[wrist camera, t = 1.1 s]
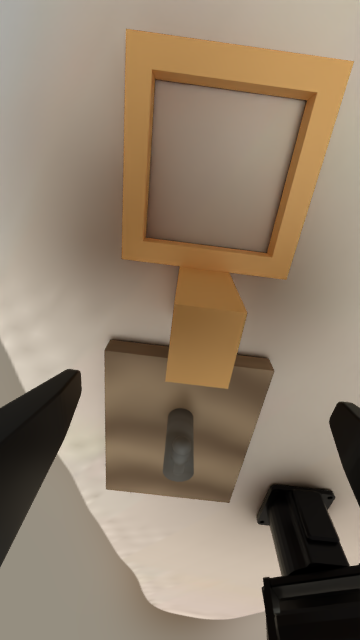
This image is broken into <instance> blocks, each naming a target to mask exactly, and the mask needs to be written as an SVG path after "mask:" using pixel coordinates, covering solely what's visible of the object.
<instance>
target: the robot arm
mask: <svg viewBox="0 0 360 640" xmlns="http://www.w3.org/2000/svg"><path fill="white" fill-rule="evenodd" d="M81 391H82V387H81V373H80V371H79V370H73V369H67V370H65V371H63V372H61V373H60V374H58V375H56V376H55V377H53V378H51V379H49V380H48V381H46V382H44V383H42V384H41V385H39V386H37V387H36V388H34V389H32V390H30V391H29V392H27V393H25V394H24V395H22V396H20V397H18V398H17V399H15V400H13V401H12V402H10V403H8V404H6V405H5V406H3V407H2V408H0V567H1V565H2V563H3V561H4V559H5V557H6V555H7V553H8V551H9V549H10V547H11V545H12V543H13V541H14V539H15V537H16V535H17V533H18V531H19V529H20V527H21V525H22V523H23V521H24V519H25V517H26V515H27V513H28V511H29V509H30V507H31V505H32V503H33V501H34V499H35V497H36V495H37V493H38V491H39V489H40V487H41V485H42V483H43V481H44V479H45V477H46V475H47V473H48V470H49V469H50V467H51V465H52V462H53V461H54V459H55V457H56V455H57V453H58V451H59V449H60V447H61V445H62V443H63V440H64V438H65V436H66V434H67V431H68V428H69V426H70V423H71V420H72V418H73V415H74V412H75V409H76V407H77V404H78V401H79V398H80V396H81ZM329 424H330V428H331V431H332V434H333V437H334V441H335V444H336V447H337V450H338V453H339V456H340V460H341V463H342V466H343V468H344V471H345V473H346V476H347V478H348V481H349V483H350V485H351V488H352V490H353V493H354V495H355V497H356V500H357V502H358V504H359V507H360V408H359V407H358V406H356V405H355V404H353V403H350V402H339V403H337V405H336V407H335V409H334V411H333V413H332V415H331V417H330V420H329ZM334 499H335V496H334V493H333V492H332V491H327V490H318V489H309V488H300V487H291V486H282V485H272V486H271V487H270V489H269V491H268V493H267V495H266V498H265V500H264V502H263V505H262V507H261V509H260V511H259V514H258V516H257V523H258V524H261V525H269V526H270V528H271V532H272V537H273V541H274V545H275V549H276V554H277V558H278V562H279V567H280V571H281V575H282V576H281V577H274V578H269V577H264V578H263V582H264V586H263V587H262V593H263V599H264V605H265V612H266V627H267V628H266V629H267V640H360V563H359V565H356V566H350V565H349V563H348V561H347V558H346V556H345V553H344V551H343V549H342V546H341V544H340V542H339V541H340V540H339V537H338V534H337V532H336V530H335V527H334V525H333V523H332V520H331V518H330V515H329V513H328V511H327V510H328V508H329V507H330V505H331V504H332V502H333V501H334Z"/></svg>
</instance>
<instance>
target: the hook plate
mask: <svg viewBox="0 0 360 640" xmlns="http://www.w3.org/2000/svg"><path fill="white" fill-rule="evenodd" d="M168 353H169V347H167V346H159V345H151V344H142V343H134V342H126V341H118V340H110V341H109V343H108V345H107V347H106V349H105V440H106V489H108V490H117V491H126V492H135V493H144V494H153V495H162V496H172V497H181V498H190V499H199V500H208V501H217V502H226V503H229V502H230V499H231V496H232V493H233V490H234V487H235V484H236V481H237V478H238V475H239V472H240V470H241V467H242V464H243V461H244V458H245V455H246V452H247V449H248V446H249V443H250V440H251V438H252V435H253V432H254V429H255V426H256V423H257V420H258V417H259V414H260V411H261V408H262V406H263V403H264V400H265V397H266V394H267V391H268V388H269V385H270V382H271V379H272V376H273V374H274V369H273V367H272V365H271V362H270V360H269V359H267V358H259V357H250V356H242V355H237V356H236V360H235V363H234V367H233V371H232V375H231V379H230V383H229V387H228V389H224V388H216V387H207V386H199V385H190V384H182V383H173V382H165V378H166V370H167V361H168Z"/></svg>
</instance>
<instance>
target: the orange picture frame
mask: <svg viewBox="0 0 360 640" xmlns="http://www.w3.org/2000/svg"><path fill="white" fill-rule="evenodd" d="M353 63H354V61H348V60H341V59H334V58H327V57H320V56H313V55H306V54H299V53H292V52H285V51H278V50H271V49H264V48H257V47H250V46H243V45H236V44H229V43H222V42H215V41H208V40H201V39H194V38H187V37H180V36H173V35H166V34H159V33H152V32H145V31H138V30H131V29H126V61H125V112H124V163H123V214H122V259H126V260H134V261H142V262H150V263H157V264H165V265H173V266H180V268H179V275H178V282H177V288H176V295H175V302H174V310H173V319H172V327H171V336H170V344H169V353H168V361H167V370H166V378H165V382H173V383H182V384H190V385H199V386H207V387H216V388H224V389H228V387H229V383H230V379H231V375H232V371H233V367H234V363H235V360H236V356H237V352H238V348H239V344H240V340H241V336H242V332H243V328H244V324H245V321H246V317H247V311H246V309H245V307H244V304H243V302H242V300H241V298H240V296H239V293H238V291H237V289H236V287H235V284H234V282H233V280H232V278H231V276H230V273H237V274H244V275H252V276H260V277H268V278H276V279H284V280H286V279H287V276H288V273H289V270H290V266H291V263H292V260H293V257H294V253H295V250H296V247H297V244H298V240H299V237H300V234H301V231H302V228H303V224H304V221H305V218H306V215H307V211H308V208H309V205H310V202H311V198H312V195H313V192H314V189H315V186H316V182H317V179H318V176H319V173H320V169H321V166H322V163H323V160H324V156H325V153H326V150H327V147H328V144H329V140H330V137H331V134H332V131H333V127H334V124H335V121H336V118H337V115H338V111H339V108H340V105H341V102H342V98H343V95H344V92H345V89H346V85H347V82H348V79H349V76H350V73H351V69H352V66H353ZM155 79H159V80H166V81H173V82H180V83H187V84H194V85H202V86H209V87H216V88H223V89H230V90H237V91H245V92H252V93H259V94H266V95H273V96H280V97H288V98H295V99H302V100H307V103H306V107H305V110H304V114H303V118H302V122H301V126H300V129H299V133H298V137H297V141H296V145H295V148H294V152H293V156H292V160H291V164H290V167H289V171H288V175H287V179H286V182H285V186H284V190H283V194H282V198H281V201H280V205H279V209H278V213H277V217H276V220H275V224H274V228H273V232H272V236H271V239H270V243H269V247H268V251H267V253H262V252H254V251H246V250H239V249H231V248H223V247H215V246H207V245H200V244H192V243H184V242H176V241H168V240H161V239H153V238H146V227H147V209H148V192H149V175H150V158H151V141H152V124H153V107H154V90H155Z"/></svg>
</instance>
